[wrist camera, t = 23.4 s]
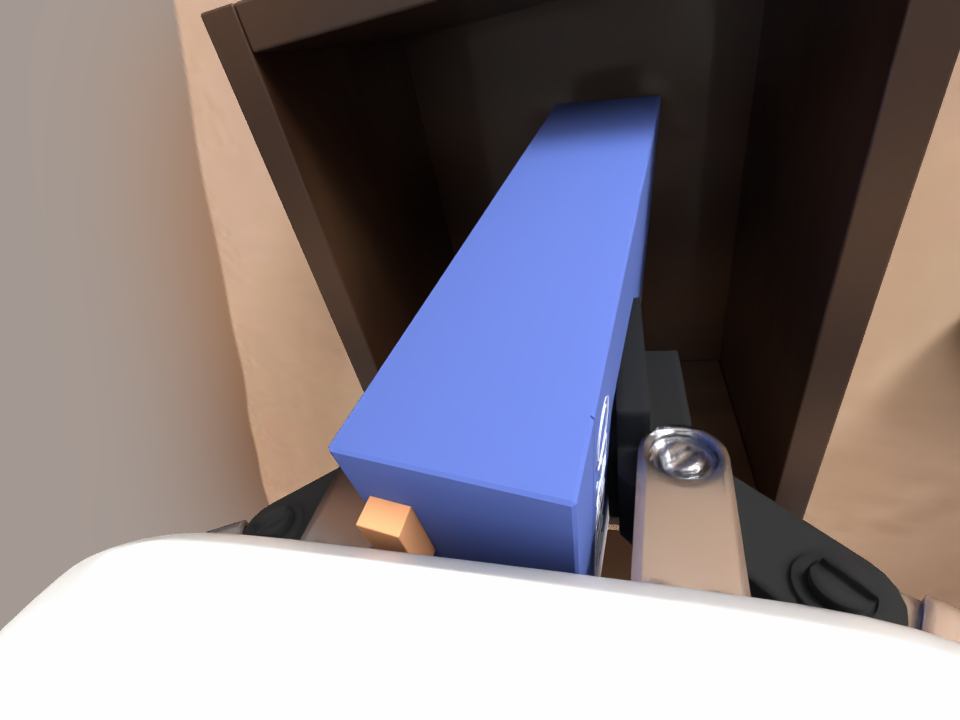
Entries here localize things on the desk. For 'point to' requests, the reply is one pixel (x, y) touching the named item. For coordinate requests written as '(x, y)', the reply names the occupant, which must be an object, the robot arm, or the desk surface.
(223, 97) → the desk surface
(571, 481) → the walkman
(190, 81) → the desk surface
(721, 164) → the brown hollow rectangular box
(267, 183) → the desk surface
